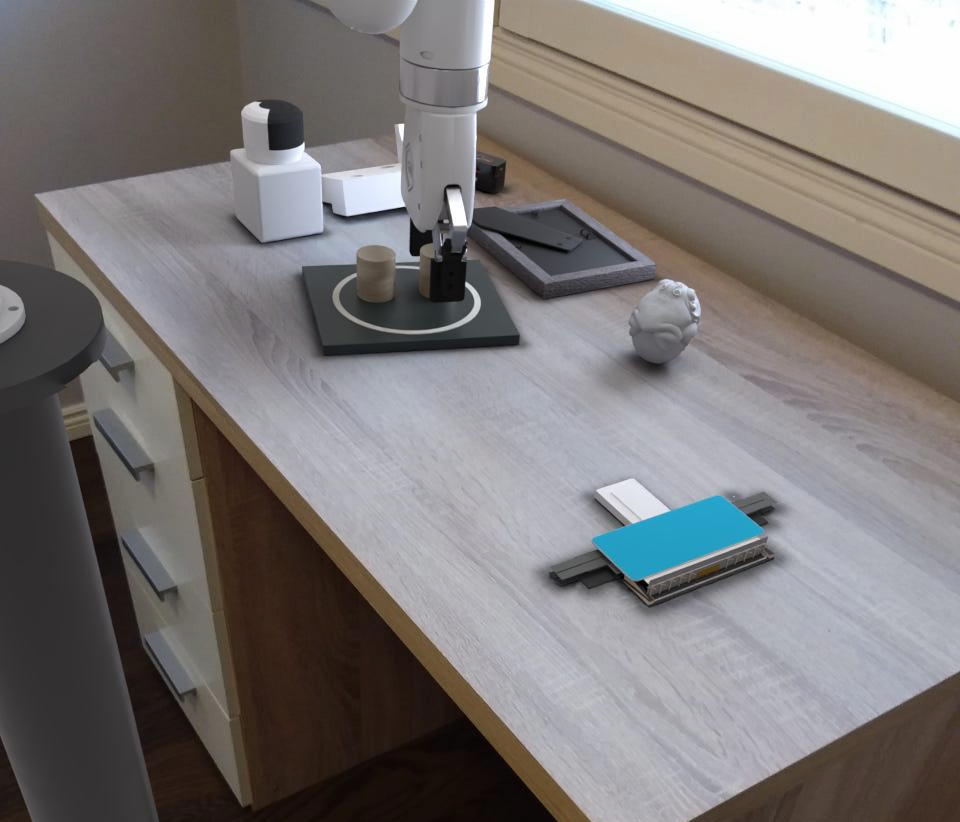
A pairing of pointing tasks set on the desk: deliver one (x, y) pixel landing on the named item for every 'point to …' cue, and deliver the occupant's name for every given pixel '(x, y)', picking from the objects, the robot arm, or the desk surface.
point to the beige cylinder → (425, 268)
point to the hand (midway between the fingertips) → (435, 277)
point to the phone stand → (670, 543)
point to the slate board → (404, 313)
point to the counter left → (376, 273)
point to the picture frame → (558, 248)
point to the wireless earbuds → (489, 172)
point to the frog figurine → (664, 321)
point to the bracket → (366, 186)
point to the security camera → (276, 174)
